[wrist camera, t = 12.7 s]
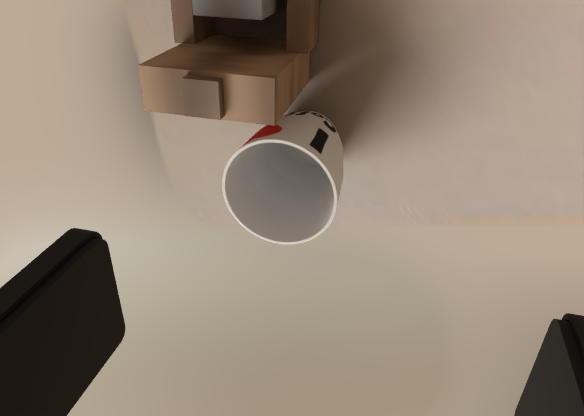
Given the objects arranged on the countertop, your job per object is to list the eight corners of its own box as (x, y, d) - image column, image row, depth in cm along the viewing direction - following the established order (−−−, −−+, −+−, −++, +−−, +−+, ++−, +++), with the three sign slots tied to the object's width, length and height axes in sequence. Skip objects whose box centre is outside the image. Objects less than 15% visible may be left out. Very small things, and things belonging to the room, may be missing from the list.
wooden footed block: (321, -30, 35) (281, -11, 26) (316, 81, 39) (280, 131, 30) (188, -36, 37) (108, -21, 28) (197, 70, 41) (129, 113, 32)
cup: (362, 99, 39) (342, 149, 30) (351, 188, 43) (331, 253, 35) (264, 87, 40) (220, 131, 32) (263, 174, 44) (223, 233, 36)
